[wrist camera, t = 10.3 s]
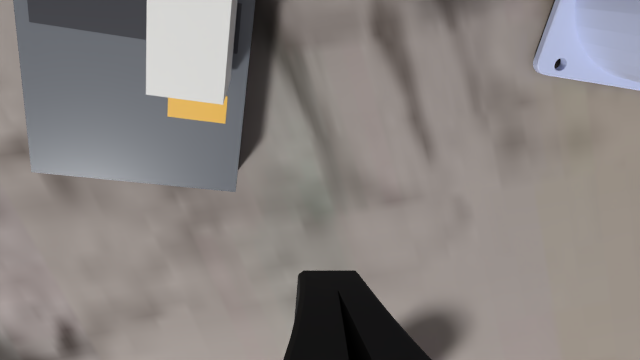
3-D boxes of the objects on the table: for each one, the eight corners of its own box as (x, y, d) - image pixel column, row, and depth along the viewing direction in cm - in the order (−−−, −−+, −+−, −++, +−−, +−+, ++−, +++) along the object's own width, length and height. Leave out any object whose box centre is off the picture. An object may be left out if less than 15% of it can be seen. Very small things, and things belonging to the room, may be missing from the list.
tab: (239, -24, 13) (233, -24, 11) (230, 79, 15) (222, 104, 12) (172, -37, 13) (147, -40, 10) (168, 70, 14) (145, 94, 12)
